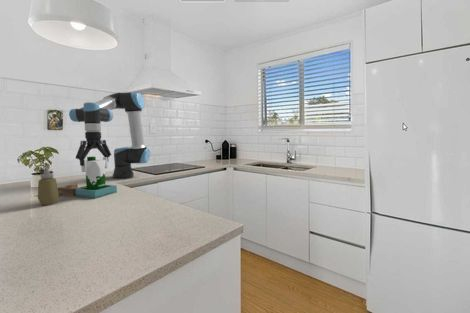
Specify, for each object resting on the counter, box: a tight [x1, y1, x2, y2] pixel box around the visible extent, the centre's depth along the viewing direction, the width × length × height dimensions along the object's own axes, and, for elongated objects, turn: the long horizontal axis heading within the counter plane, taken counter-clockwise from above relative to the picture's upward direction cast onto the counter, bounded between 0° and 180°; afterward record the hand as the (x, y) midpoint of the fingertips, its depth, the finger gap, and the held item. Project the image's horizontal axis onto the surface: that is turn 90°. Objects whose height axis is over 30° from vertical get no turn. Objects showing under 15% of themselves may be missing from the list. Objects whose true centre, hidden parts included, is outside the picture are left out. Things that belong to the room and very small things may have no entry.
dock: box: [57, 183, 86, 197], centre depth 135 cm, size 11×13×4 cm
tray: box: [75, 184, 118, 200], centre depth 132 cm, size 14×14×4 cm
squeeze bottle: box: [37, 166, 60, 206], centre depth 114 cm, size 8×8×18 cm
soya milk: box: [85, 156, 107, 190], centre depth 131 cm, size 9×9×20 cm
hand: (95, 170), depth 131 cm, fingers open, 13 cm apart
